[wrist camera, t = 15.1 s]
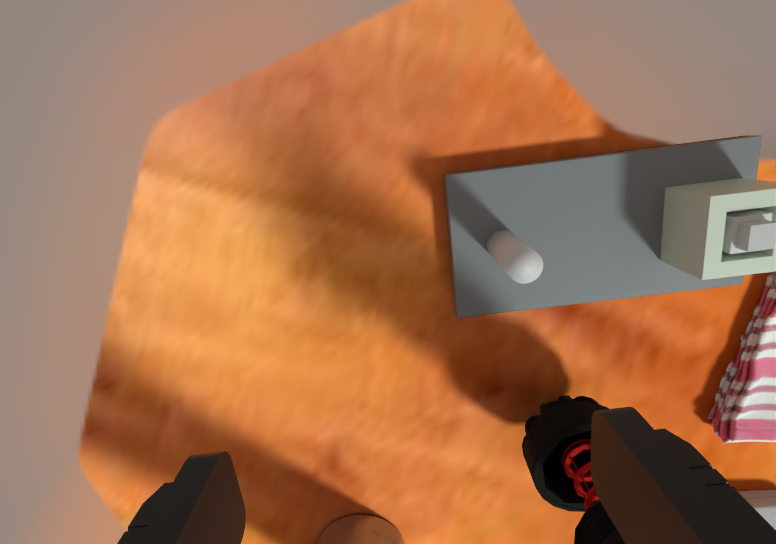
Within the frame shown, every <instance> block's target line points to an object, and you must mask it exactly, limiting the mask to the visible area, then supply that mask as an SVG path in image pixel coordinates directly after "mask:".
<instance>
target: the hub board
mask: <svg viewBox="0 0 776 544" xmlns="http://www.w3.org/2000/svg"><path fill="white" fill-rule="evenodd" d="M761 140H762V136H739V137H731V138H723V139H715V140H707V141H700V142H692V143H683V144H676V145H668V146H660V147H652V148H644V149H636V150H628V151H620V152H612V153H604V154H597V155H589V156H581V157H573V158H565V159H557V160H549V161H541V162H533V163H525V164H517V165H510V166H502V167H494V168H486V169H478V170H470V171H462V172H454V173H446V174H444V182H445V194H446V206H447V218H448V230H449V242H450V254H451V267H452V279H453V291H454V303H455V312H456V314H457V317H458V318H461V317H469V316H478V315H486V314H495V313H503V312H512V311H520V310H528V309H537V308H545V307H554V306H562V305H571V304H579V303H587V302H596V301H604V300H613V299H621V298H630V297H638V296H646V295H655V294H663V293H672V292H680V291H689V290H697V289H705V288H714V287H722V286H731V285H739V284H743V277H744V275H741V276H733V277H725V278H716V279H708V280H701V279H699V278H697V277H694V276H692V275H690V274H688V273H686V272H684V271H682V270H679V269H677V268H675V267H673V266H671V265H669V264H667V263H664V262H662V261H660V256H661V242H662V228H663V213H664V199H665V187H673V186H681V185H689V184H697V183H705V182H713V181H721V180H729V179H737V178H748V179H756V178H757V170H758V162H759V155H760V147H761ZM772 214H773V213H770V212H765V211H760V210H756V209H747V210H739V211H730V212H727V214H726V222H725V231H724V240H723V249H722V252H725V253H728V254H735V253H744V252H752V251H760V250H767V249H774V248H775V242H776V222H774V221H772Z"/></svg>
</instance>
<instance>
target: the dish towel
mask: <svg viewBox="0 0 776 544" xmlns="http://www.w3.org/2000/svg"><path fill="white" fill-rule="evenodd" d="M740 340H742V341H741V344H740V347H739V350H738V353H737V356H736V358H735V359H733V360H732V361H731V362H730V363H729V365H728V368H727V369H726V374H725V375H724V376H723V378H722V379H721V382H720V386H719V387H720V388H719V390H718V392H717V393H716V397H715V404H714V406H713V408H712V409H711V411H710V413H709V416H708V419H712V420H713V421H712V422H711V426H712V427H714V432H715V434H716V435H719V437H720V438H721V439H722V440H723V442H724V443H729V442H745V441H762V442H776V271H775V272H769V275H768V276H767V279H766V283H765V286H764V289H763V292H762V295H761V298H760V301H759V303H758V305H757V306H756V308H755V310H754V312H753V316H752V318H751V320H750V322H749V324H748V326H747V328H746V331H745V335H742V337H741V338H740Z"/></svg>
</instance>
